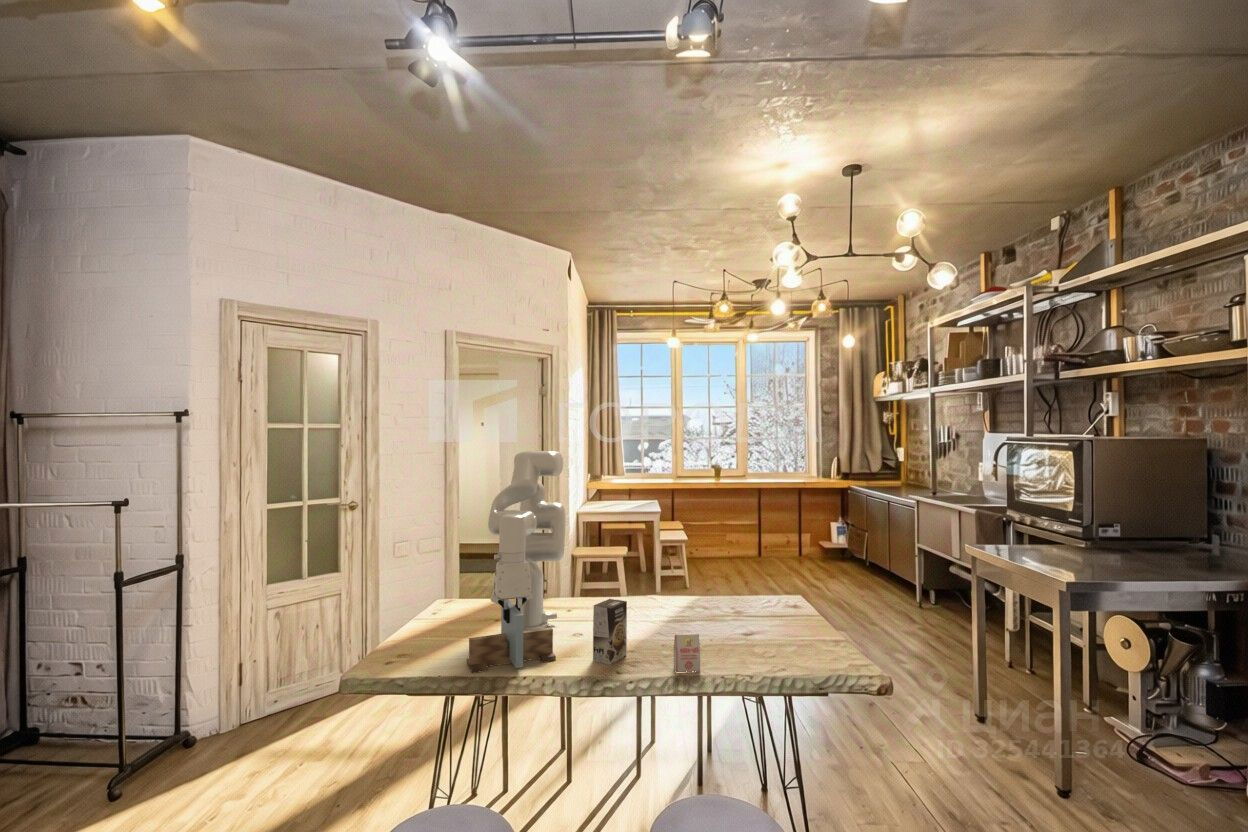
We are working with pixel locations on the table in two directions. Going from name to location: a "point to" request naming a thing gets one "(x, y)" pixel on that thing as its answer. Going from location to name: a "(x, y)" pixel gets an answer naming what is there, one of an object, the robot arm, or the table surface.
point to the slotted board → (497, 652)
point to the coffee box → (609, 631)
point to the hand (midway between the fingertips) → (511, 621)
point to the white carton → (686, 653)
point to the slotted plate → (514, 634)
